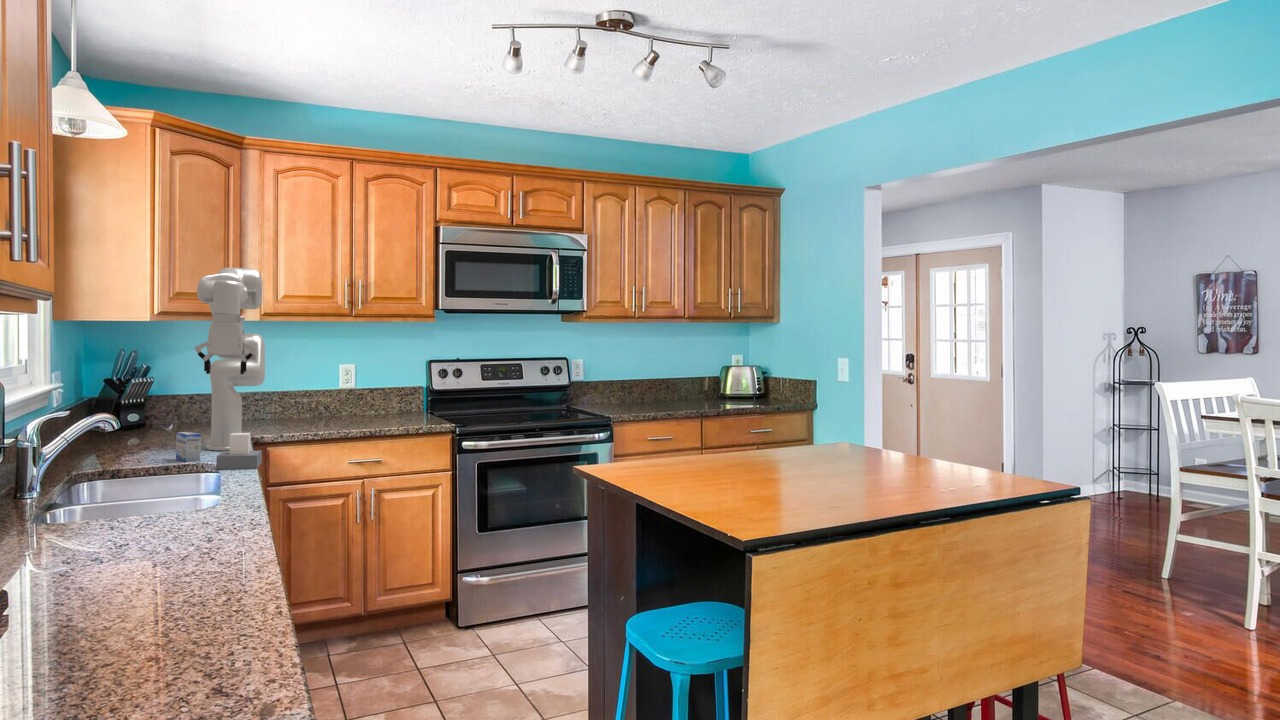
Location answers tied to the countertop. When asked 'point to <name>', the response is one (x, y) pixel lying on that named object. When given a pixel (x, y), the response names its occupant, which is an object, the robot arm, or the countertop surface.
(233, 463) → the plinth
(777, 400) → the countertop surface
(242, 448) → the cube
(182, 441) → the medicine box
